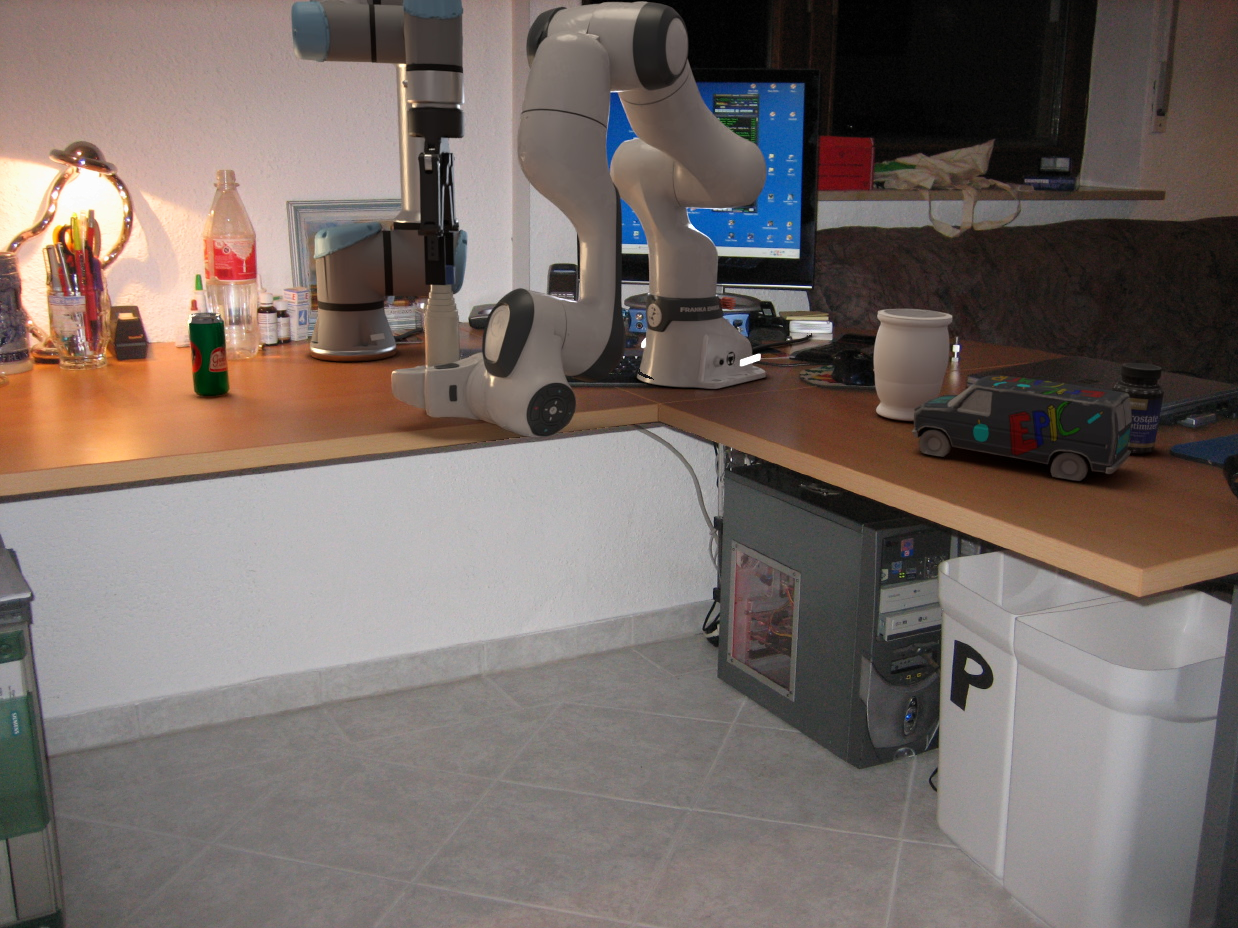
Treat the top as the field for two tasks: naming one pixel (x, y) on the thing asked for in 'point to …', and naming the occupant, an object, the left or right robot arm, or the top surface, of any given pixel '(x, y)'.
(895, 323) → the jar
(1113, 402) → the toy van
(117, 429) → the top surface
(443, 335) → the bottle
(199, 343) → the soda can
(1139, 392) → the pill bottle
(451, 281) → the cap
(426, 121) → the left robot arm
